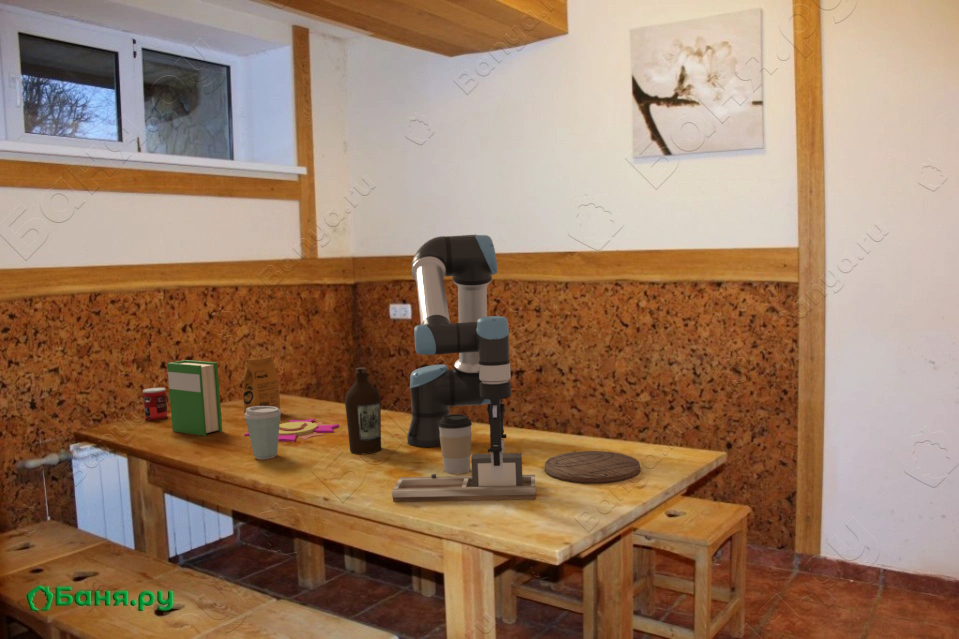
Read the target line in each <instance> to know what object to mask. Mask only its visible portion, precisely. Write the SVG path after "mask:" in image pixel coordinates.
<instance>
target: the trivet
mask: <svg viewBox="0 0 959 639" xmlns="http://www.w3.org/2000/svg"><path fill="white" fill-rule="evenodd" d="M544 472H545V474H546V475H547V476H549V477H551V478H552V479H556V480H558V481H561V482H562V481H563V482H566V483H571V484H583V485H601V484H612V483H613V484H614V483H618V482H624V481H626V480H629V479H633V478H635V477H636V476H638V475H639V474H640V472H641V462H640V461H639V459H636V457H632V456H631V455H628V454H623V453H619V452H612V451H604V450H602V451H601V450H584V451H572V452H564V453H560V454H557V455H554V456H552V457H550V458H548V459H547V460H545V461H544Z"/></svg>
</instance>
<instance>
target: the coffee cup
mask: <svg viewBox="0 0 959 639" xmlns="http://www.w3.org/2000/svg"><path fill="white" fill-rule="evenodd" d="M472 425H473V423H472V420H471V419H470V418H469V417H468V415H466V414H461V413H460V414H459V413H458V414H457V413H455V414H454V413H453V414H449V415H446V416H443V417H442V420H440V421H439V425H438V426H439V430H440V443H441V446H440V449H441V456H442V463H443V470H444V471H443V472H445V473H447V474H452V475H458V474H464V473H465V474H466V473H468V472H469V471H470V469H471V456H472Z"/></svg>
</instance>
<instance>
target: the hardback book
mask: <svg viewBox="0 0 959 639" xmlns="http://www.w3.org/2000/svg"><path fill="white" fill-rule="evenodd" d="M166 366H167V378H168V388H169V389H168V390H169V402H170V404H169V405H170V414H171V425H172V426H171V428H172V431H173V432H175V433H177V432H178V433H183V434H188V433H190V434H189V435H194V434H197V435H196V436H200V435H203V436H202V437H205V435H206V436H207V434H209V433H212V432H217V431H219V433H222V432H223V420H222V409H221V406H222V405H221V397H220V396H221V395H220V392H221V391H220V381H219V380H220V379H219V369H218V367H219V366H218V362H217V361H216V362H215V361H200V360H191V359H190V360H188V359H186V360H177V361H172V362H167V364H166ZM221 431H222V432H221Z"/></svg>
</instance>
